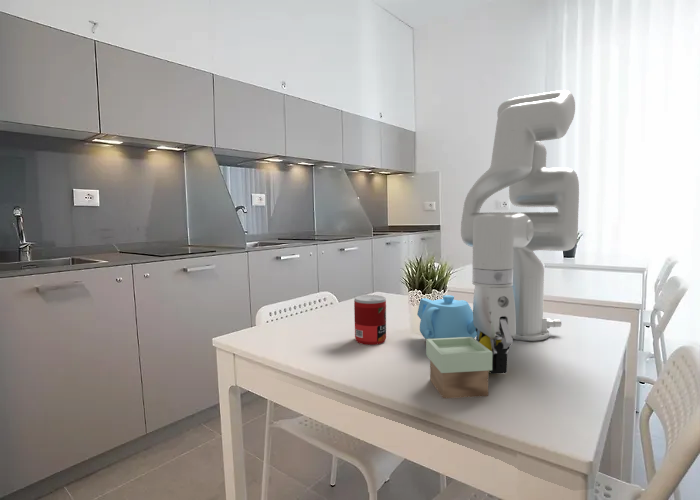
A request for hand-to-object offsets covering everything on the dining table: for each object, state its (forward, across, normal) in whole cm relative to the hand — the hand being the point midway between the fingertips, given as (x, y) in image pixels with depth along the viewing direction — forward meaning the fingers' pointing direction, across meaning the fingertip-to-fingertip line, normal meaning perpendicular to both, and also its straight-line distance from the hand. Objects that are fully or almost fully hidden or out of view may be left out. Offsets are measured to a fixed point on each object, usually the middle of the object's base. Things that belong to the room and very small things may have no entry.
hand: (491, 366), depth 82 cm
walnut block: (+2, -6, +9) cm, 11 cm away
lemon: (+1, 0, 0) cm, 1 cm away
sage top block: (-3, -6, +9) cm, 12 cm away
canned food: (+2, +24, +21) cm, 32 cm away
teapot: (+2, +19, +2) cm, 19 cm away
